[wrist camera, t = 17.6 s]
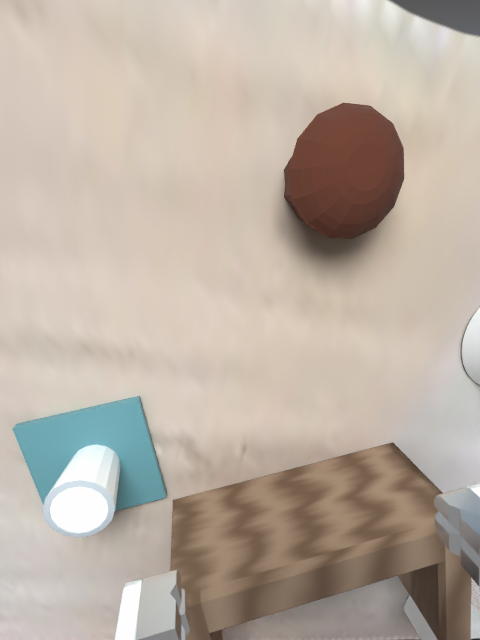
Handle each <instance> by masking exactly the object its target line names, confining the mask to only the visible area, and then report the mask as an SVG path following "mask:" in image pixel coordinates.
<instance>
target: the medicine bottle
mask: <svg viewBox="0 0 480 640" xmlns="http://www.w3.org/2000/svg"><path fill="white" fill-rule="evenodd" d="M403 610H404V612H405V613H406V615H407V617H408V619H409V620H410V622H411V624H412V625H413V627H414V629H415V631H416V632H417V634H418V636H419V638H420V639H421V640H438V639H437V638H436V636H435V635H434V633H433V631H432V630H431V628H430V627H429V625H428V623H427V622H426V620H425V618H424V617H423V615H422V614H421V612H420V610H419V609H418V607H417V606H416V604H415V602H414V601H413V599H412V598H411V596H410V594H409V596H408V598H407V600H406V602H405V604H404V606H403ZM471 640H480V612H479V611H478V609H477V608H476V607H475V605H474V604H473V603H472V602H471Z"/></svg>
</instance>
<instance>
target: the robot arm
mask: <svg viewBox="0 0 480 640" xmlns="http://www.w3.org/2000/svg"><path fill="white" fill-rule="evenodd" d="M462 360H463V364H464V367H465V370H466V372H467V373H468V375H469V376H470V378H471V379H472V380H473V381H474V382H476V383H477V384H479V385H480V308H479V309H478V310H477V312H476V313H475V314H474V316H473V317H472V319H471V321H470V322H469V324H468V326H467V329H466V331H465V334H464V338H463V343H462ZM434 506H435V507H436V509H437V510H438V512H437V514H436V515H435V517H434V520H435V528H436V530H437V533H438V535H439V537H440V539H441V541H442V542H443V544H444V545H445V546H446V547H447V549H448V550H449V551H450V552H452V553H454V554H456V555H458V556H460V562H461V566H462V567H463V568H464V569H465V570H466V571H467V573H468V574H469V575H470V576H471V577H472V579H473V580H474V581H475V582H476V583H477V585H478V586H480V483H478V484H475V485H471V486H468V487H465V488H460V489H457V490H453V491H450V492H447V493H443V494H440V495H437V496H436V497H435V498H434ZM189 631H190V617H189V607H188V601H187V596H186V592H185V590H184V589H183V588H182V578H181V575H180V572H179V570H174V571H170V572H166V573H162V574H158V575H154V576H150V577H146V578H143V579H139V580H136V581H132V582H128V583H126V584H125V587H124V589H123V594H122V600H121V605H120V611H119V617H118V623H117V629H116V635H115V640H188V639H187V634H188V632H189Z"/></svg>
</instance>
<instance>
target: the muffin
mask: <svg viewBox="0 0 480 640" xmlns="http://www.w3.org/2000/svg"><path fill="white" fill-rule="evenodd" d="M284 173H285V193H284V197H285V198H286V199H287V201H288V202H289V203H290V204H291V205H292V207H293V208H294V210H295V212H296V214H297V216H298V217H299V218H301V219H303V220H304V222H305V223H306V224H307V225H308V226H310V227H312V228H313V229H315V230H316V231H318V232H320V233H321V234H323V235H324V236H326V237H328V238H351V239H352V238H354V237H357V236H359V235H361V234H363V233H365V232H367V231H369V230H372V229H374V228H376V227H377V225H378V224H379V223H380V222H381V221H382V220H383V219H384V217H385V216H386V215H387V214H388V213H389V212H390V211H391V209H392V208H393V207H394V205H395V203H396V200H397V197H398V194H399V191H400V189H401V186H402V183H403V180H404V150H403V146H402V143H401V141H400V139H399V136H398V134H397V132H396V129H395V127H394V125H393V123H392V122H390V121H389V120H388V119H387V118H385V117H384V116H383V115H381V114H380V113H379V112H378V111H376V110H375V109H374V108H372V107H371V106H368V105H359V104H350V103H342V104H340V105H338V106H335V107H333V108H331V109H329V110H327V111H324V112H322V113H320V114H318V115H317V116H316V117H315V118H314V119H313V121H312V122H311V123H310V124H309V125H308V127H307V128H306V129H305V130H304V132H303V133H302V134H301V135H300V136H299V138H298V139H297V143H296V146H295V149H294V153H293V156H292V157H291V159H290V161H289V162H288V164H287V166H286V167H285V169H284Z"/></svg>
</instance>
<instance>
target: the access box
mask: <svg viewBox="0 0 480 640" xmlns="http://www.w3.org/2000/svg"><path fill="white" fill-rule="evenodd" d="M440 494H443V493H442V492H441V491H440V490H439V489H438V488H437V487H436V486H435V485H434V484H433V483H432V482H431V481H430V480H429V479H428V478H427V477H426V476H425V475H424V474H423V473H422V472H421V471H420V470H419V468H418V467H417V466H416V465H415V464H414V463H413V462H412V461H411V460H410V459H409V458H408V457H407V456H406V455H405V454H404V453H403V452H402V451H401V450H400V449H399V448H398V447H397V446H396V445H395V444H394V443H389V444H385V445H382V446H378V447H374V448H370V449H366V450H363V451H359V452H355V453H351V454H347V455H344V456H340V457H336V458H332V459H328V460H325V461H321V462H317V463H313V464H309V465H305V466H302V467H298V468H294V469H290V470H286V471H283V472H279V473H275V474H271V475H267V476H264V477H260V478H256V479H252V480H248V481H245V482H241V483H237V484H233V485H229V486H226V487H222V488H218V489H214V490H210V491H206V492H203V493H199V494H195V495H191V496H187V497H184V498H180V499H176V500H173V516H172V542H171V569H170V571H174V570H179V572H180V575H181V578H182V588H183V589H184V590H185V592H186V596H187V601H188V607H189V617H190V631H189V632H188V634H187V639H188V640H223V637H222V629H224V628H228V627H231V626H234V625H237V624H241V623H244V622H247V621H250V620H254V619H257V618H260V617H264V616H267V615H270V614H273V613H277V612H280V611H283V610H286V609H290V608H293V607H296V606H300V605H303V604H306V603H309V602H313V601H316V600H319V599H322V598H326V597H329V596H332V595H335V594H339V593H342V592H345V591H349V590H352V589H355V588H358V587H362V586H365V585H368V584H371V583H375V582H378V581H381V580H384V579H388V578H391V577H394V576H398V577H399V578H400V580H401V581H402V583H403V585H404V586H405V588H406V589H407V591H408V593H409V594H410V596H411V598H412V599H413V601H414V602H415V604H416V606H417V607H418V609H419V610H420V612H421V614H422V615H423V617H424V618H425V620H426V622H427V623H428V625H429V627H430V628H431V630H432V631H433V633H434V635H435V636H436V638H437V639H438V640H471V576H470V575H469V574H468V573H467V571H466V570H465V569H464V568H463V567H462V566H461V562H460V556H458V555H456V554H454V553H452V552H450V551H449V550H448V549H447V547H446V546H445V545H444V544H443V542H442V541H441V539H440V537H439V535H438V533H437V530H436V528H435V520H434V517H435V515H436V514H437V512H438V510H437V509H436V507H435V506H434V498H435V497H436V496H437V495H440Z"/></svg>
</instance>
